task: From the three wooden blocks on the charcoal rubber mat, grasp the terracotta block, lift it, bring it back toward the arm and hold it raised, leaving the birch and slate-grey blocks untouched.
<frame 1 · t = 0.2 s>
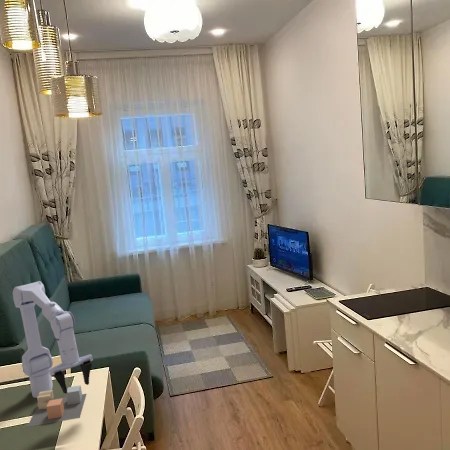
hand: (76, 388, 162), 10 cm above the table, tool pointing down, fingers open, 7 cm apart
birch block: (46, 405, 173), resting on mat
slate block: (75, 400, 174), resting on mat
mat: (58, 410, 169), on the table
terracotta block: (56, 414, 165), resting on mat
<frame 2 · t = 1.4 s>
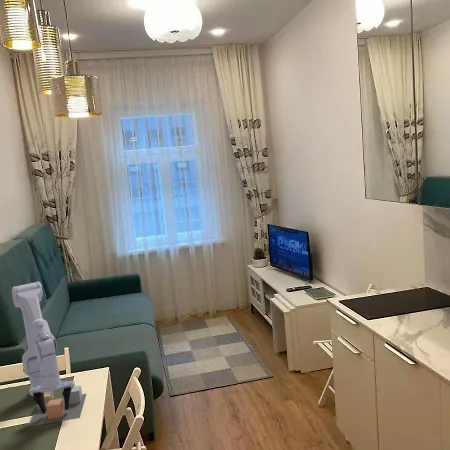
hand: (55, 410, 165), 2 cm above the table, tool pointing down, fingers open, 7 cm apart
nothing on the table moved.
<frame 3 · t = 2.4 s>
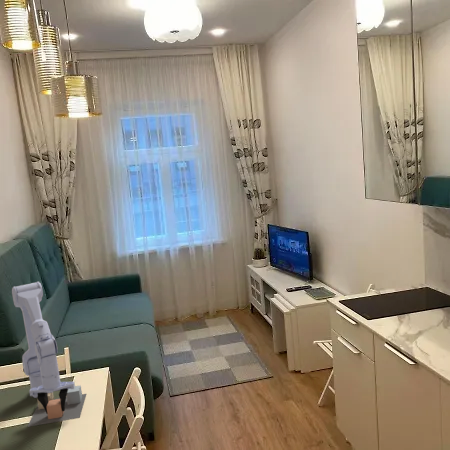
hand: (55, 411, 165), 2 cm above the table, tool pointing down, fingers closed on terracotta block, 4 cm apart
terracotta block: (56, 414, 165), resting on mat, touching gripper
everything else where it was.
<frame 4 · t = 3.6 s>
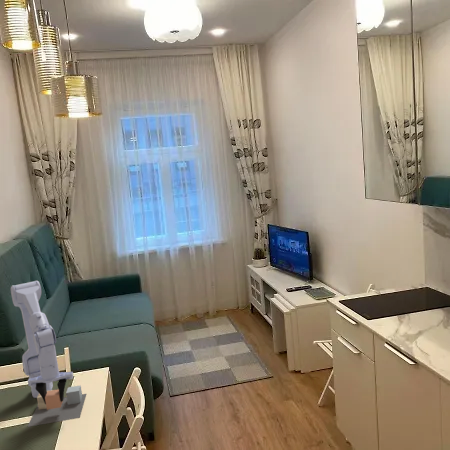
hand: (54, 401, 165), 5 cm above the table, tool pointing down, fingers closed on terracotta block, 4 cm apart
terracotta block: (55, 405, 165), point 4 cm above the table, touching gripper
everything else where it was.
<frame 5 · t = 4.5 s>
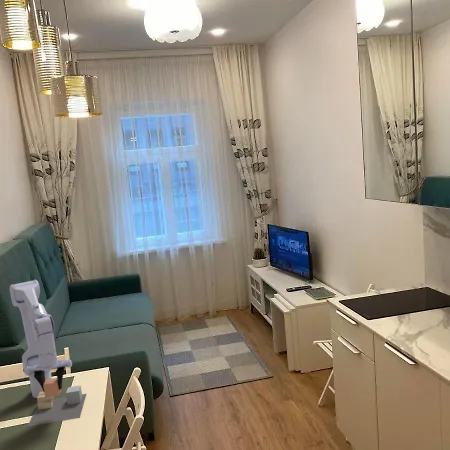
hand: (52, 389, 165), 9 cm above the table, tool pointing down, fingers closed on terracotta block, 4 cm apart
terracotta block: (53, 393, 165), point 8 cm above the table, touching gripper
everything else where it was.
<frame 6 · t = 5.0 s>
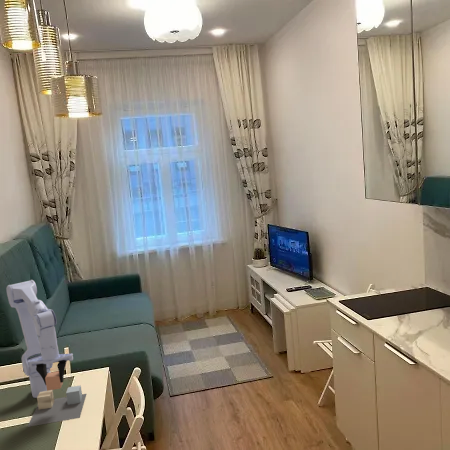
hand: (54, 382, 168), 10 cm above the table, tool pointing down, fingers closed on terracotta block, 4 cm apart
terracotta block: (55, 386, 168), point 9 cm above the table, touching gripper
everything else where it was.
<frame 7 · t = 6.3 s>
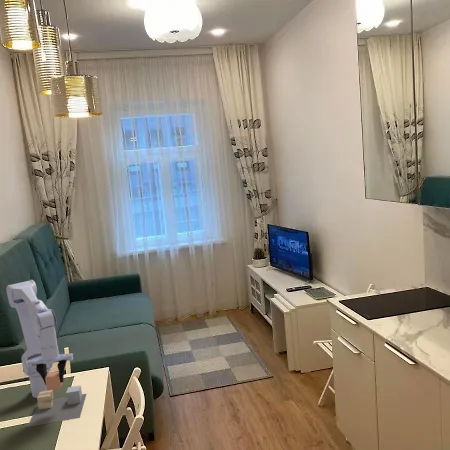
hand: (54, 382, 168), 10 cm above the table, tool pointing down, fingers closed on terracotta block, 4 cm apart
terracotta block: (55, 386, 168), point 9 cm above the table, touching gripper
everything else where it was.
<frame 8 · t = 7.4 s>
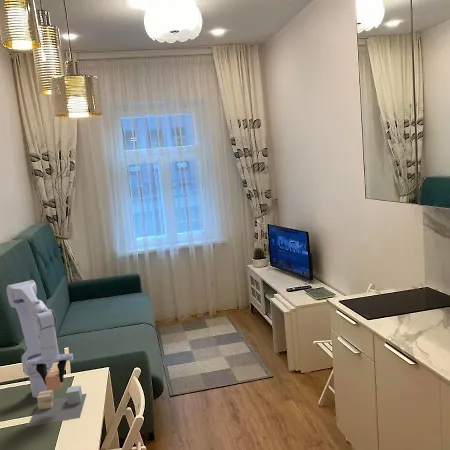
hand: (54, 382, 168), 10 cm above the table, tool pointing down, fingers closed on terracotta block, 4 cm apart
terracotta block: (55, 386, 168), point 9 cm above the table, touching gripper
everything else where it was.
at the end: the gripper is holding terracotta block; terracotta block inside the target area (0.1 cm from its centre), point 9.0 cm above the table; birch block moved 0.0 cm from its start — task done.
